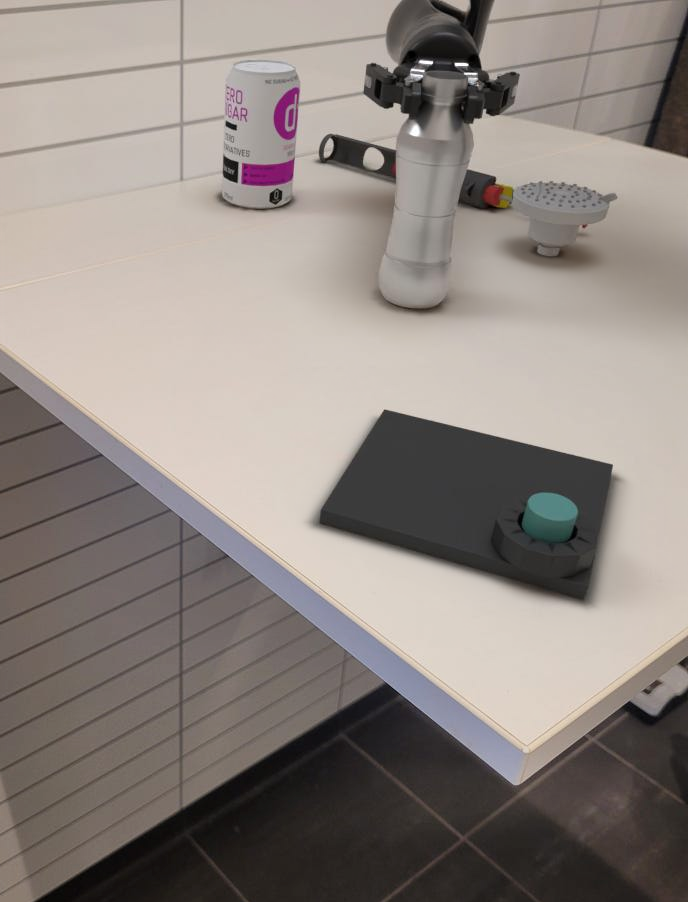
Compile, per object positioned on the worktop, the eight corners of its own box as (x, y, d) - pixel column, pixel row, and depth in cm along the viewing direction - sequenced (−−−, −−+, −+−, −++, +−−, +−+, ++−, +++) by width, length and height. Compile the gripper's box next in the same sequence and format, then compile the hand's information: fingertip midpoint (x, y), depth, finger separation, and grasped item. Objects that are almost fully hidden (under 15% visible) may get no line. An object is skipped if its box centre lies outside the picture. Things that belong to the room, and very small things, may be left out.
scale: (607, 481, 64) (619, 444, 63) (581, 608, 54) (595, 567, 52) (381, 425, 70) (387, 389, 68) (316, 530, 59) (321, 491, 57)
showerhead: (619, 207, 90) (512, 194, 93) (599, 279, 94) (497, 264, 97) (618, 180, 98) (519, 168, 100) (599, 248, 102) (505, 234, 104)
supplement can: (303, 199, 113) (314, 65, 104) (268, 218, 107) (277, 77, 98) (245, 186, 116) (251, 55, 108) (208, 203, 110) (212, 66, 102)
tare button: (573, 523, 56) (581, 499, 55) (567, 550, 54) (575, 525, 53) (525, 510, 57) (532, 487, 56) (517, 536, 55) (524, 512, 54)
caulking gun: (362, 134, 128) (317, 131, 122) (619, 202, 107) (581, 202, 100) (356, 164, 130) (310, 163, 123) (607, 237, 109) (569, 240, 102)
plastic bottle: (422, 323, 84) (462, 88, 73) (360, 301, 88) (389, 73, 77) (459, 303, 88) (503, 76, 77) (398, 282, 92) (431, 63, 81)
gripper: (367, 19, 89) (360, 53, 75) (522, 28, 87) (544, 64, 73) (358, 103, 93) (349, 150, 79) (506, 113, 91) (523, 162, 77)
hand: (443, 108), depth 76 cm, fingers closed on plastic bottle, 4 cm apart
